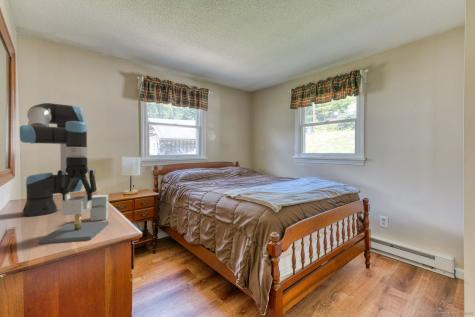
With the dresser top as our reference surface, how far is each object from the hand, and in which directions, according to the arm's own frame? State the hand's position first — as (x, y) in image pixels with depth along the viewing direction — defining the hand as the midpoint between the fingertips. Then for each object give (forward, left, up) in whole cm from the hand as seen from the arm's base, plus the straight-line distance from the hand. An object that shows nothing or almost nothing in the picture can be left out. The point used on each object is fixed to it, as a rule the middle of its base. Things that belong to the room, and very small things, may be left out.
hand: (77, 208), depth 96 cm
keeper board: (0, 0, -11) cm, 11 cm away
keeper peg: (0, 0, -9) cm, 9 cm away
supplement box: (-21, +1, -11) cm, 24 cm away
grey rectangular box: (0, 0, -1) cm, 1 cm away
